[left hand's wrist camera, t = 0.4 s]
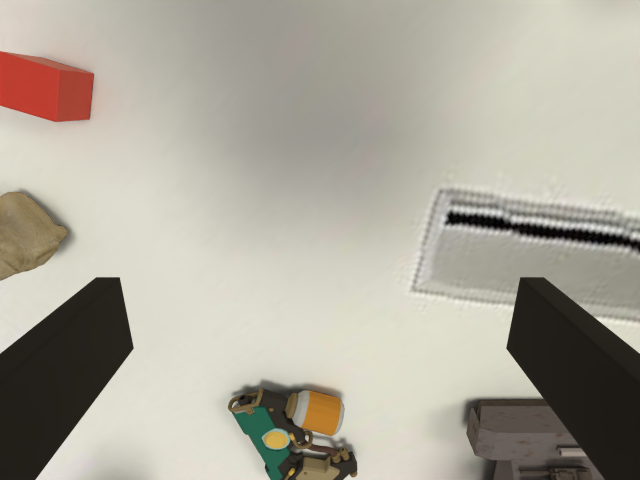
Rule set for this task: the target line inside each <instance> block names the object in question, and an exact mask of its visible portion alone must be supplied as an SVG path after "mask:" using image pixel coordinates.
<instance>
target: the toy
mask: <svg viewBox="0 0 640 480" xmlns="http://www.w3.org/2000/svg"><path fill="white" fill-rule="evenodd" d="M466 434H467V436H468V439H469V441H470V444H471V446H472V448H473V451H474V453H475V455H476V456H479V457H483V458H486V459H489V460H497V464H496V468H495V473H494V478H493V480H605V479H604V478H603V477H602V475H601V474H600V473H599V471H598V470H597V469H596V467H595V466H594V465H593V463H592V462H591V461H590V459H589V458H588V457H587V455H586V454H585V453H584V451H583V450H582V449H581V447H580V446H579V445H578V443H577V442H576V441H575V439H574V438H573V437H572V435H571V434H570V433H569V431H568V430H567V429H566V427H565V426H564V425H563V423H562V422H561V421H560V419H559V418H558V417H557V415H556V414H555V413H554V411H553V410H552V409H551V407H550V406H549V405H548V403H547V402H546V401H545V400H482V401H480V402H479V405H478V410H477V416H476V413H475V411H474V408H471V409H470V415H469V421H468V427H467V433H466Z"/></svg>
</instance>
